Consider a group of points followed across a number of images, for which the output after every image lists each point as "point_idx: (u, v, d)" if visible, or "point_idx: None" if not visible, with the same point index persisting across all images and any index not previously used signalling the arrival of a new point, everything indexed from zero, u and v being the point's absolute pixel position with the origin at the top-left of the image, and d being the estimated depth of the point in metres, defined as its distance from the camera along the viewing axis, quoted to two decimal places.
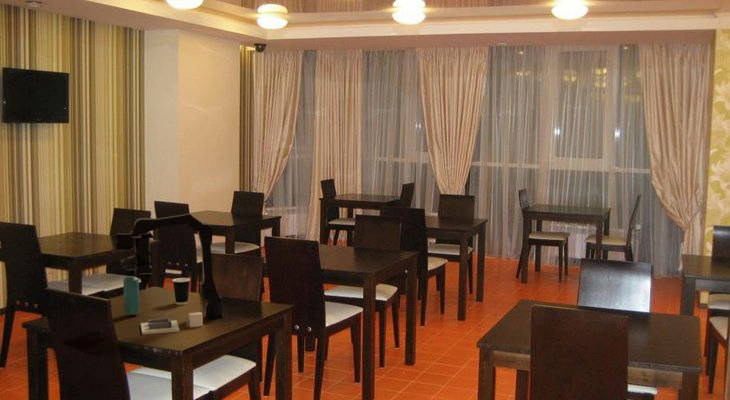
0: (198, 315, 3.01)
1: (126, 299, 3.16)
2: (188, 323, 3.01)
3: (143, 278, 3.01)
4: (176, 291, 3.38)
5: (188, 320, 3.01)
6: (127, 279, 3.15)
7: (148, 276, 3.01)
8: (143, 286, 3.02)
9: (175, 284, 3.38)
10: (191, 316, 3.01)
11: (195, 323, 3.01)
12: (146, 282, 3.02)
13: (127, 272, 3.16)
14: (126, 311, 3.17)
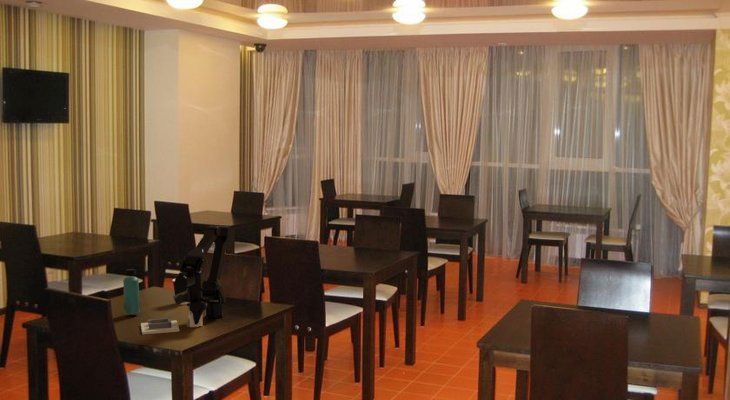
0: None
1: (126, 299, 3.16)
2: (188, 323, 3.01)
3: (195, 313, 3.00)
4: (176, 291, 3.38)
5: (188, 320, 3.01)
6: (127, 279, 3.15)
7: (200, 311, 3.00)
8: (195, 321, 3.00)
9: None
10: (191, 316, 3.01)
11: None
12: (198, 317, 3.00)
13: (127, 272, 3.16)
14: (126, 311, 3.17)
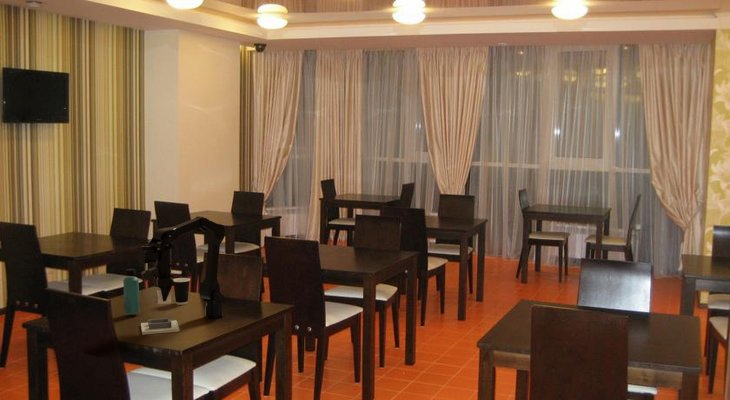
0: None
1: (126, 299, 3.16)
2: (156, 300, 2.96)
3: (164, 290, 2.95)
4: (176, 291, 3.38)
5: (156, 297, 2.96)
6: (127, 279, 3.15)
7: (169, 288, 2.95)
8: (164, 297, 2.95)
9: (175, 284, 3.38)
10: (159, 292, 2.95)
11: None
12: (167, 294, 2.95)
13: (127, 272, 3.16)
14: (126, 311, 3.17)
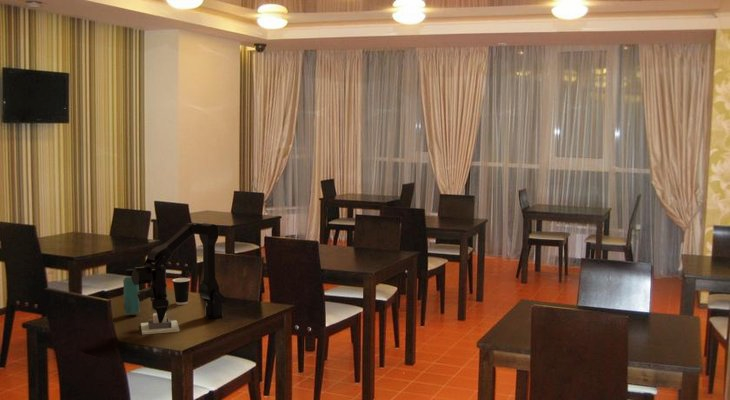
0: None
1: (126, 299, 3.16)
2: None
3: (159, 311, 2.93)
4: (176, 291, 3.38)
5: (152, 320, 2.97)
6: (127, 279, 3.15)
7: (164, 309, 2.93)
8: (159, 319, 2.94)
9: (175, 284, 3.38)
10: (155, 316, 2.96)
11: None
12: (162, 315, 2.93)
13: (127, 272, 3.16)
14: (126, 311, 3.17)
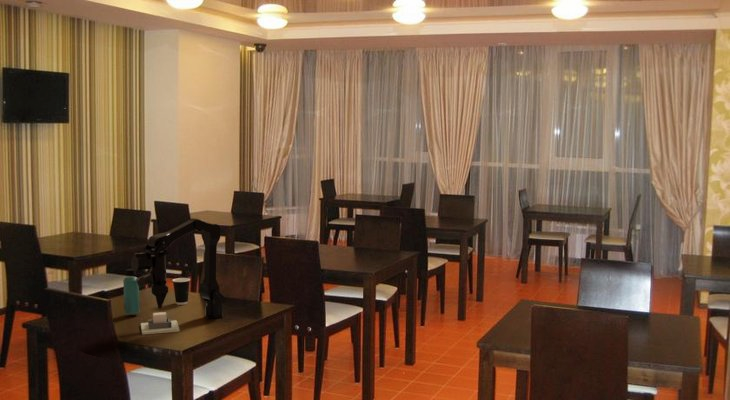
0: (162, 315, 2.97)
1: (126, 299, 3.16)
2: None
3: (159, 297, 2.93)
4: (176, 291, 3.38)
5: (152, 320, 2.97)
6: (127, 279, 3.15)
7: (164, 295, 2.93)
8: (159, 304, 2.94)
9: (175, 284, 3.38)
10: (155, 316, 2.96)
11: None
12: (162, 301, 2.94)
13: (127, 272, 3.16)
14: (126, 311, 3.17)
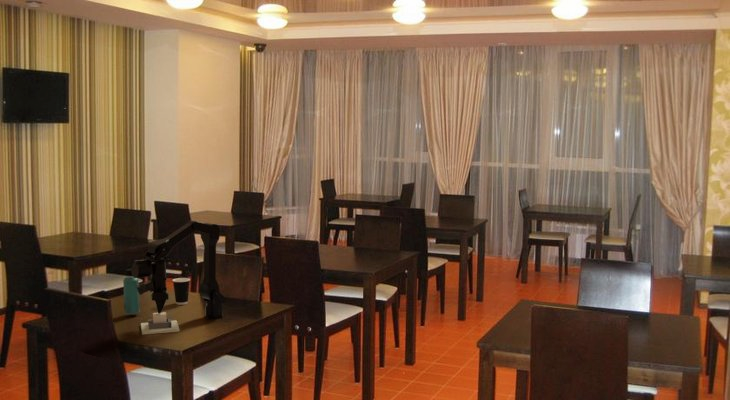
0: (162, 315, 2.97)
1: (126, 299, 3.16)
2: None
3: (159, 302, 2.97)
4: (176, 291, 3.38)
5: (152, 320, 2.97)
6: (127, 279, 3.15)
7: (164, 300, 2.96)
8: (159, 310, 2.97)
9: (175, 284, 3.38)
10: (155, 316, 2.96)
11: None
12: (161, 306, 2.97)
13: (127, 272, 3.16)
14: (126, 311, 3.17)
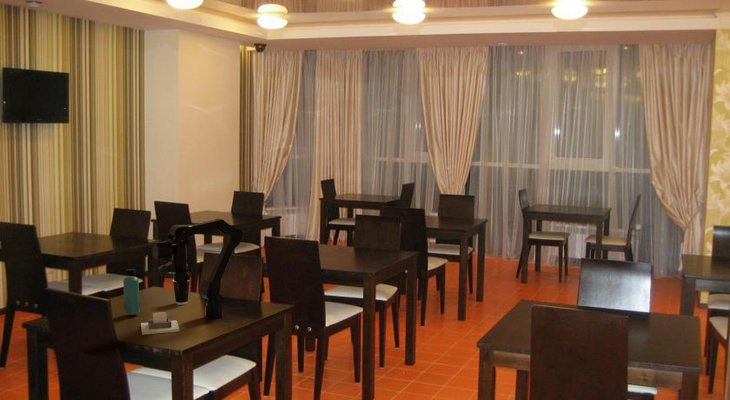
0: (162, 315, 2.97)
1: (126, 299, 3.16)
2: None
3: (180, 283, 3.05)
4: (176, 291, 3.38)
5: (152, 320, 2.97)
6: (127, 279, 3.15)
7: (185, 281, 3.05)
8: (180, 290, 3.06)
9: (175, 284, 3.38)
10: (155, 316, 2.96)
11: None
12: (183, 287, 3.06)
13: (127, 272, 3.16)
14: (126, 311, 3.17)
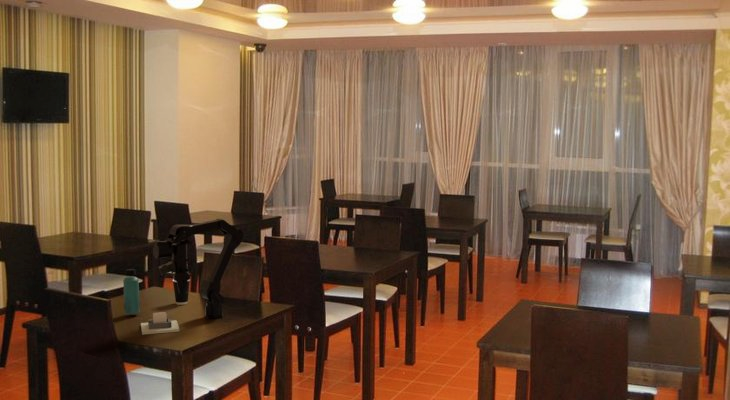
0: (162, 315, 2.97)
1: (126, 299, 3.16)
2: None
3: (180, 282, 3.05)
4: (176, 291, 3.38)
5: (152, 320, 2.97)
6: (127, 279, 3.15)
7: (185, 281, 3.05)
8: (180, 290, 3.06)
9: (175, 284, 3.38)
10: (155, 316, 2.96)
11: None
12: (183, 286, 3.06)
13: (127, 272, 3.16)
14: (126, 311, 3.17)
